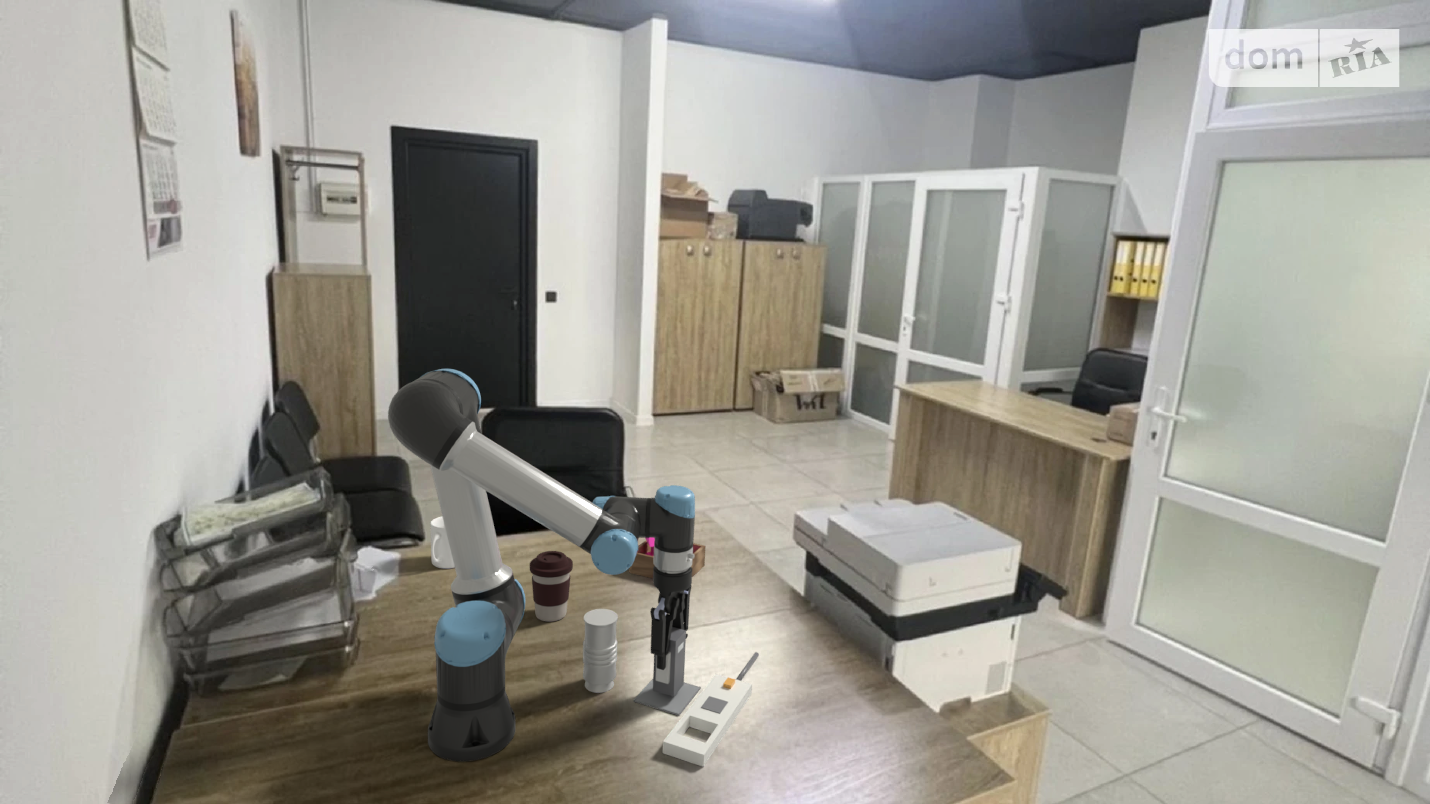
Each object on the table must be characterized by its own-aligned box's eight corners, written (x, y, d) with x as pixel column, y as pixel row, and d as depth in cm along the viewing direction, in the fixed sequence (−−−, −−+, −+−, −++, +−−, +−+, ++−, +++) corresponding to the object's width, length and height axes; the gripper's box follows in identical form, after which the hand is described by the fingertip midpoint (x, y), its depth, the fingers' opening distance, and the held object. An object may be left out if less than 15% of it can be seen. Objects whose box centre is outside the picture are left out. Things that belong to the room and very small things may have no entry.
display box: (682, 586, 201) (683, 564, 199) (629, 572, 207) (629, 552, 205) (704, 565, 213) (705, 545, 212) (653, 554, 219) (653, 534, 218)
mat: (679, 715, 147) (679, 714, 147) (633, 701, 151) (633, 699, 151) (700, 688, 156) (700, 687, 156) (656, 675, 160) (656, 674, 160)
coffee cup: (577, 607, 187) (577, 549, 183) (565, 627, 177) (565, 567, 174) (537, 603, 188) (537, 546, 184) (523, 623, 178) (523, 563, 175)
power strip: (703, 766, 133) (704, 750, 133) (662, 753, 136) (663, 737, 136) (773, 660, 168) (774, 647, 167) (739, 651, 171) (740, 638, 170)
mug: (473, 556, 212) (472, 516, 209) (457, 574, 200) (456, 533, 198) (439, 553, 212) (438, 514, 210) (421, 572, 200) (420, 530, 198)
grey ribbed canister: (611, 672, 160) (613, 606, 157) (620, 690, 154) (621, 622, 151) (579, 677, 158) (580, 610, 154) (586, 696, 151) (587, 627, 148)
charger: (673, 696, 150) (676, 641, 147) (652, 690, 152) (654, 635, 149) (683, 684, 154) (686, 630, 152) (663, 678, 156) (665, 625, 153)
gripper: (670, 588, 138) (665, 703, 143) (709, 553, 154) (703, 657, 159) (633, 579, 141) (630, 692, 146) (675, 545, 157) (671, 648, 162)
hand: (668, 674), depth 152 cm, fingers closed on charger, 5 cm apart
